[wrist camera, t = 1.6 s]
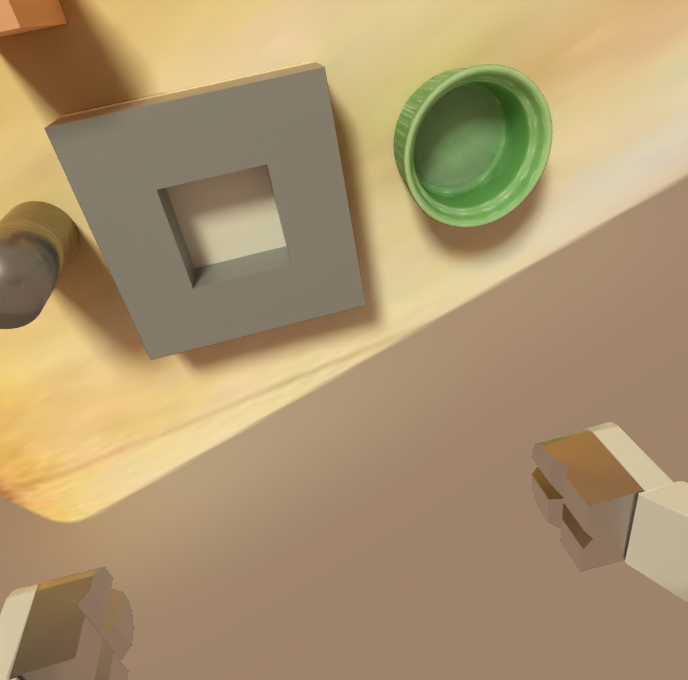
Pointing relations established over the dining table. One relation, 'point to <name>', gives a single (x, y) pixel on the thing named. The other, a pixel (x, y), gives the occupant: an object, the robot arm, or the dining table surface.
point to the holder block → (217, 206)
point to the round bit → (32, 259)
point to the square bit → (29, 15)
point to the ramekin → (473, 143)
